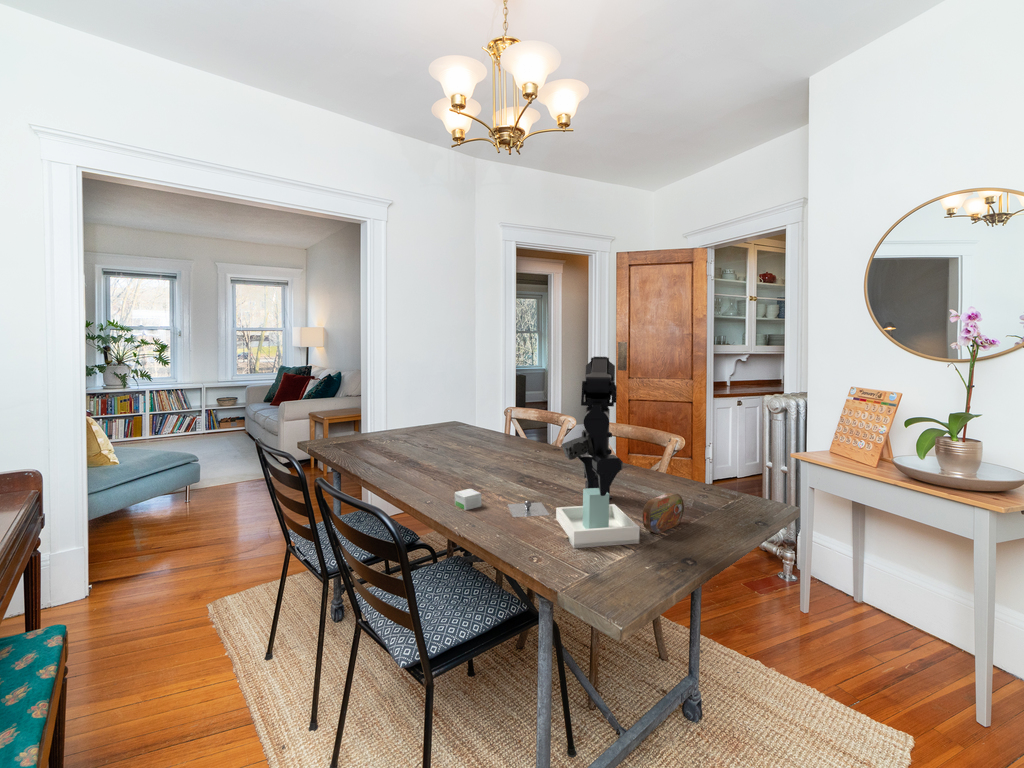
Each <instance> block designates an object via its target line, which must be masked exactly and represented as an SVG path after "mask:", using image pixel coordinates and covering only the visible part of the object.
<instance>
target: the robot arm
mask: <svg viewBox="0 0 1024 768" xmlns="http://www.w3.org/2000/svg"><path fill="white" fill-rule="evenodd" d="M584 375H585V377H584V378H585V379H584V380H582V383H581V399H580V400H581V401H580V406H583V407H586V408H585V415H584V418H583V427H584V429H582V431H581V436H579V437H578V438H574V439H570V440H568V441H566V442H563V443H562V444H561V447H562V450H563V452H564V455H565V458H567V459H568V460H569V461H571V460H575V459H576V458H577V459H578V460H579V461H580V462H581V463H582V466H583V469H584V479H586V480H585V485H584V486H585V488H584V489H589V488H599V490H600V495H601V496H605V495H606V493H607V492H608V493H609V500H612V499H613V498H612V496H611V494H610V493H611V491H610V490H611V485H612V483H613V482H614V479H616V476H617V475H618V474H619V473H620V472H621V471H623V469H624V468H623V467H624V466H623V463H624V462H623V460H621V458H620V457H618V456H617V455H615V454H612V449H611V448H610V438H612V437H613V433H612V432H611V431H610V412H611V411H610V410H611V409H610V407H615V403H617V389H618V388H617V385H616V381H615V380H616V365H615V364H613V363H612V362H611V361H610V357H608V356H593V357H591V358H590V361H589V362H588V363H587V364H586V365H585V374H584Z"/></svg>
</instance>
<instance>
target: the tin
mask: <svg viewBox="0 0 1024 768" xmlns="http://www.w3.org/2000/svg"><path fill="white" fill-rule="evenodd" d="M684 511H685V504H684V500H683V498H682V496H681V495H680V494H678V493H671V492H666V493H663V494H661V495H658V496H656V497H653V498H650V499H648V500H647V501H646V503H645V504H644V506H643V508H642V525H643V527H644V528H645V529H646V530H647V531H648V532H651V533H654V534H662V533H664V532H666V531H668V530H670V529H673V528H675V527H677V526H678V525H679V524H680V522H681V521H682V519H683V516H684Z"/></svg>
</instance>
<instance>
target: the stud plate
mask: <svg viewBox="0 0 1024 768" xmlns="http://www.w3.org/2000/svg"><path fill="white" fill-rule="evenodd" d="M507 507H508V509H509V512H510V514H511V516H512V518H520V517H521V518H523V517H538V516H550V513H549V512H548V509H546V507H545V506H544V504H543V503H542V502H541V501H540V502H538V501H537V502H531V501H530V500H525V501H524V502H523V503H521V502H520V503H510V504H509V503H508V504H507Z"/></svg>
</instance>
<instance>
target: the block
mask: <svg viewBox="0 0 1024 768" xmlns="http://www.w3.org/2000/svg"><path fill="white" fill-rule="evenodd" d="M582 490H583V491H582V506H583V526H584V528H585V529H593V528H607V527H609V504H610V499H609V493H608V492H607V493H606V495H605V496H601V495H600V490H599V488H589V489H585V488H583V489H582Z"/></svg>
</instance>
